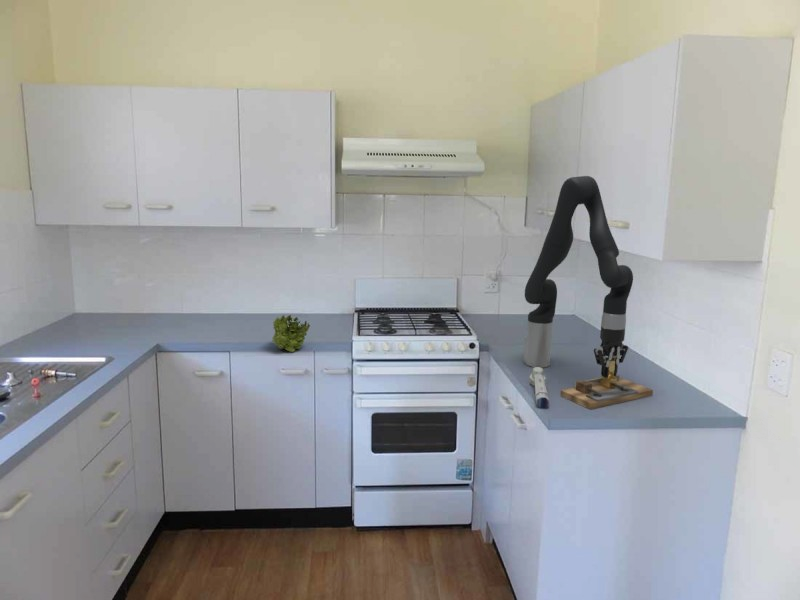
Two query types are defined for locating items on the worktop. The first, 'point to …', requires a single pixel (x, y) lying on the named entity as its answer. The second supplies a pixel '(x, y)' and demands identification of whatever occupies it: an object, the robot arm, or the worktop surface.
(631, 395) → the board
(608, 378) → the gold l-shaped piece
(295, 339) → the green bumpy lump
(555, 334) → the worktop surface
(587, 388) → the brown block with stem
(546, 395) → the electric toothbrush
